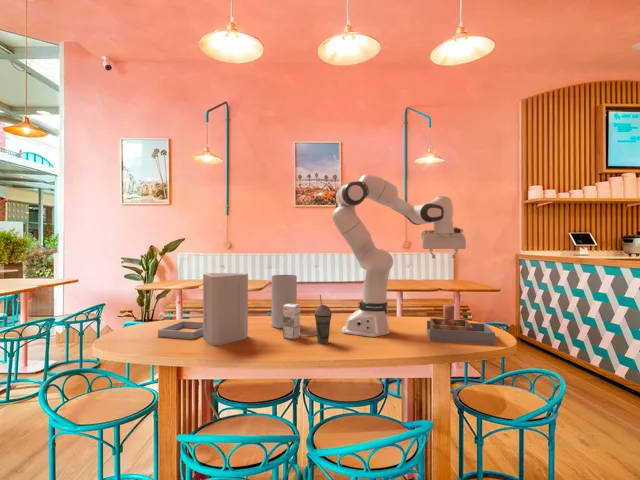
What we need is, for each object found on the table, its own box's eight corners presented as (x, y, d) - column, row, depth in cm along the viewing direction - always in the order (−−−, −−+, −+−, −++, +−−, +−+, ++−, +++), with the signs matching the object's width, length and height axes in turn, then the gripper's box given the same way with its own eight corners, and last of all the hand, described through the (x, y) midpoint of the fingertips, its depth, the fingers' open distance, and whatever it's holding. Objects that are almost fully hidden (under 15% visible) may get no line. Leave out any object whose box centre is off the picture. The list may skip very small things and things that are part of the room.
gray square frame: (158, 336, 152) (158, 329, 152) (182, 326, 170) (182, 320, 170) (193, 339, 149) (193, 332, 149) (214, 329, 166) (214, 322, 166)
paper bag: (192, 344, 141) (192, 276, 141) (206, 334, 156) (207, 272, 156) (237, 346, 139) (238, 276, 140) (248, 335, 154) (248, 273, 154)
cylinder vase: (295, 329, 167) (295, 277, 167) (269, 328, 167) (269, 277, 167) (297, 322, 179) (297, 274, 179) (273, 322, 179) (273, 274, 179)
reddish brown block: (444, 333, 152) (444, 306, 152) (443, 330, 156) (443, 304, 156) (454, 333, 151) (454, 306, 151) (452, 331, 155) (452, 304, 155)
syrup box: (300, 336, 154) (300, 303, 154) (294, 339, 148) (294, 306, 148) (289, 334, 156) (289, 302, 156) (282, 338, 151) (282, 305, 151)
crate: (432, 337, 148) (433, 325, 148) (430, 329, 162) (430, 318, 162) (472, 339, 145) (472, 327, 145) (466, 331, 159) (466, 319, 159)
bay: (430, 341, 147) (430, 329, 147) (426, 330, 164) (426, 320, 164) (495, 345, 141) (495, 333, 141) (484, 334, 158) (485, 323, 158)
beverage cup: (330, 345, 141) (330, 296, 141) (312, 344, 142) (312, 295, 142) (332, 340, 148) (333, 293, 148) (316, 339, 149) (316, 293, 149)
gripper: (421, 230, 168) (421, 258, 168) (466, 229, 163) (466, 258, 163) (421, 230, 174) (421, 257, 174) (464, 229, 169) (464, 258, 169)
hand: (443, 258), depth 168 cm, fingers open, 8 cm apart
